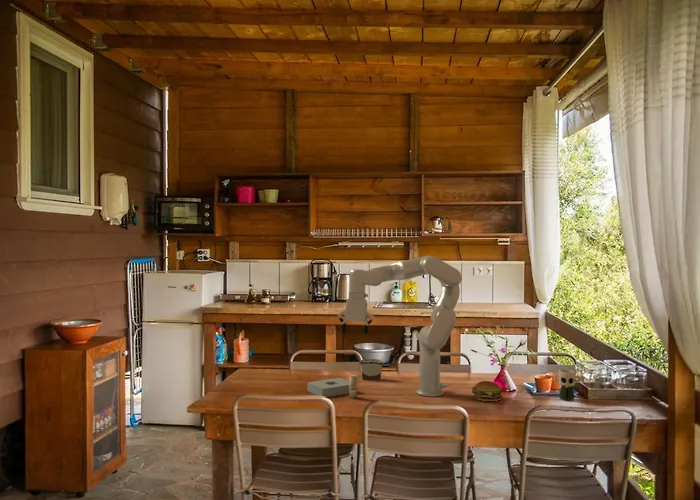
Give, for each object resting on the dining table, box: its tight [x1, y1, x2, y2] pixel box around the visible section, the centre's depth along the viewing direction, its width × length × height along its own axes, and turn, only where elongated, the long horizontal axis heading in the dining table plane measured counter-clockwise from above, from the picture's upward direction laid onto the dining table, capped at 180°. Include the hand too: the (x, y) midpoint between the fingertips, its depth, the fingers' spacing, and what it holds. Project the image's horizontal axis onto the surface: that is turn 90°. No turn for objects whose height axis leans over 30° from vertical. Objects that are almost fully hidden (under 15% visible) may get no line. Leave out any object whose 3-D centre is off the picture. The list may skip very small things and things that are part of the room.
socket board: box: [307, 377, 349, 398], centre depth 258 cm, size 18×14×4 cm
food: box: [471, 380, 505, 402], centre depth 248 cm, size 14×14×8 cm
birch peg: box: [348, 374, 358, 400], centre depth 248 cm, size 4×4×10 cm
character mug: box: [553, 368, 581, 401], centre depth 249 cm, size 11×7×13 cm, turn 72°
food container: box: [359, 358, 384, 382], centre depth 284 cm, size 12×6×10 cm, turn 84°
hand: (355, 333), depth 253 cm, fingers open, 9 cm apart
